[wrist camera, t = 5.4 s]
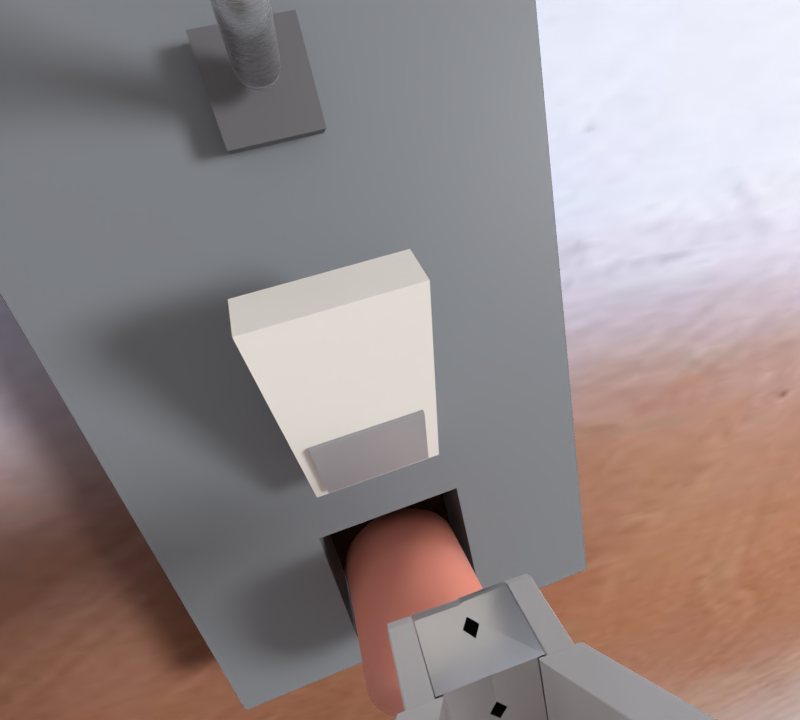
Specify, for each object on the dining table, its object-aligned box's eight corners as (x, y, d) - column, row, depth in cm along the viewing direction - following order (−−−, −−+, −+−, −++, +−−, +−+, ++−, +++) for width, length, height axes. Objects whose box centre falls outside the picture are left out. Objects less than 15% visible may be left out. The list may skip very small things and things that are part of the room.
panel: (548, 523, 22) (604, 590, 19) (250, 640, 20) (243, 744, 16) (475, -51, 14) (552, -148, 10) (-66, 45, 11) (-241, -33, 8)
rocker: (425, 424, 15) (440, 458, 14) (309, 464, 14) (317, 501, 14) (410, 248, 10) (432, 284, 9) (228, 298, 9) (232, 342, 8)
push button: (463, 575, 19) (515, 681, 15) (362, 615, 18) (386, 739, 14) (443, 492, 17) (496, 585, 13) (331, 533, 16) (348, 645, 12)
